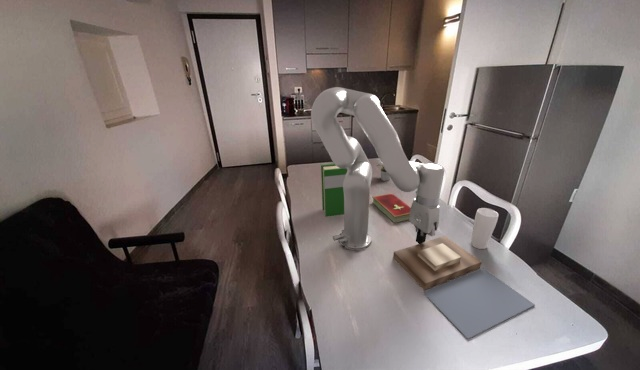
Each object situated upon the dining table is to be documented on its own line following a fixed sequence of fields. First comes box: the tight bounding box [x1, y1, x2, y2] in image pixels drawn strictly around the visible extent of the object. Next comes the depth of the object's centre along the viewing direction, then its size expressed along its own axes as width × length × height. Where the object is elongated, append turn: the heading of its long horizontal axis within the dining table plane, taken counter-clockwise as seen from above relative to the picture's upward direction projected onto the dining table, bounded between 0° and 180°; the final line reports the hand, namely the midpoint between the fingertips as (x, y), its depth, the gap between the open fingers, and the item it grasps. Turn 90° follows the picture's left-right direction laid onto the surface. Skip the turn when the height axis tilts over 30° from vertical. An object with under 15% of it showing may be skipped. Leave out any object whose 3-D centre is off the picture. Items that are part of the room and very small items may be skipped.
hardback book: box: [320, 163, 347, 218], centre depth 119 cm, size 18×7×24 cm, turn 101°
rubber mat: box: [422, 267, 535, 340], centre depth 74 cm, size 26×16×1 cm, turn 111°
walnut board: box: [392, 235, 483, 291], centre depth 88 cm, size 24×16×3 cm, turn 111°
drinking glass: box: [470, 207, 500, 250], centre depth 93 cm, size 7×7×15 cm
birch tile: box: [418, 243, 461, 271], centre depth 86 cm, size 11×8×2 cm
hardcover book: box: [372, 192, 411, 223], centre depth 122 cm, size 12×21×4 cm, turn 17°
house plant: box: [376, 157, 391, 182], centre depth 155 cm, size 14×14×16 cm
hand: (420, 241), depth 94 cm, fingers closed
